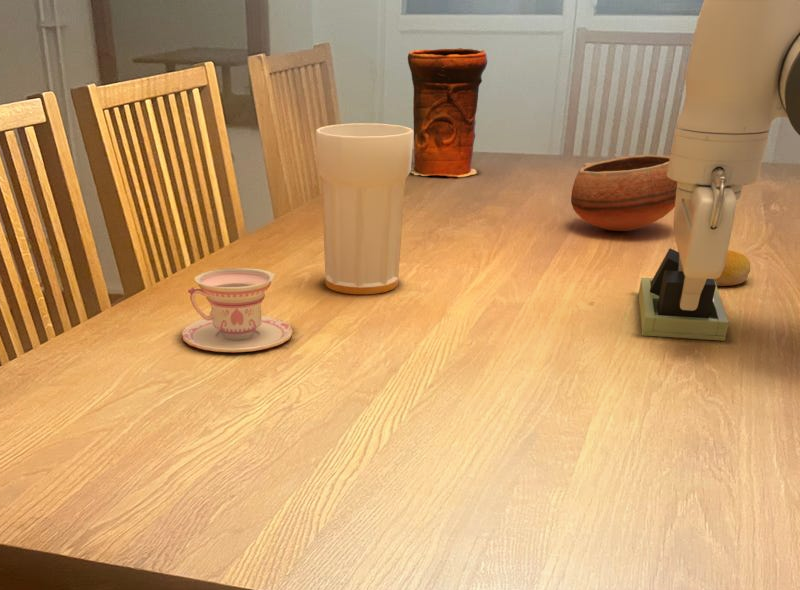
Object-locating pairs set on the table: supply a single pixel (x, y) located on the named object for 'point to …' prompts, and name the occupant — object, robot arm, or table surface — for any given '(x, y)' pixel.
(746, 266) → the bread roll
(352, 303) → the table surface
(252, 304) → the teacup
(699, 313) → the black block
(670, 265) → the pad
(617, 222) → the bowl
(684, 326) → the frame
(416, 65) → the vessel
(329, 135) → the cup
